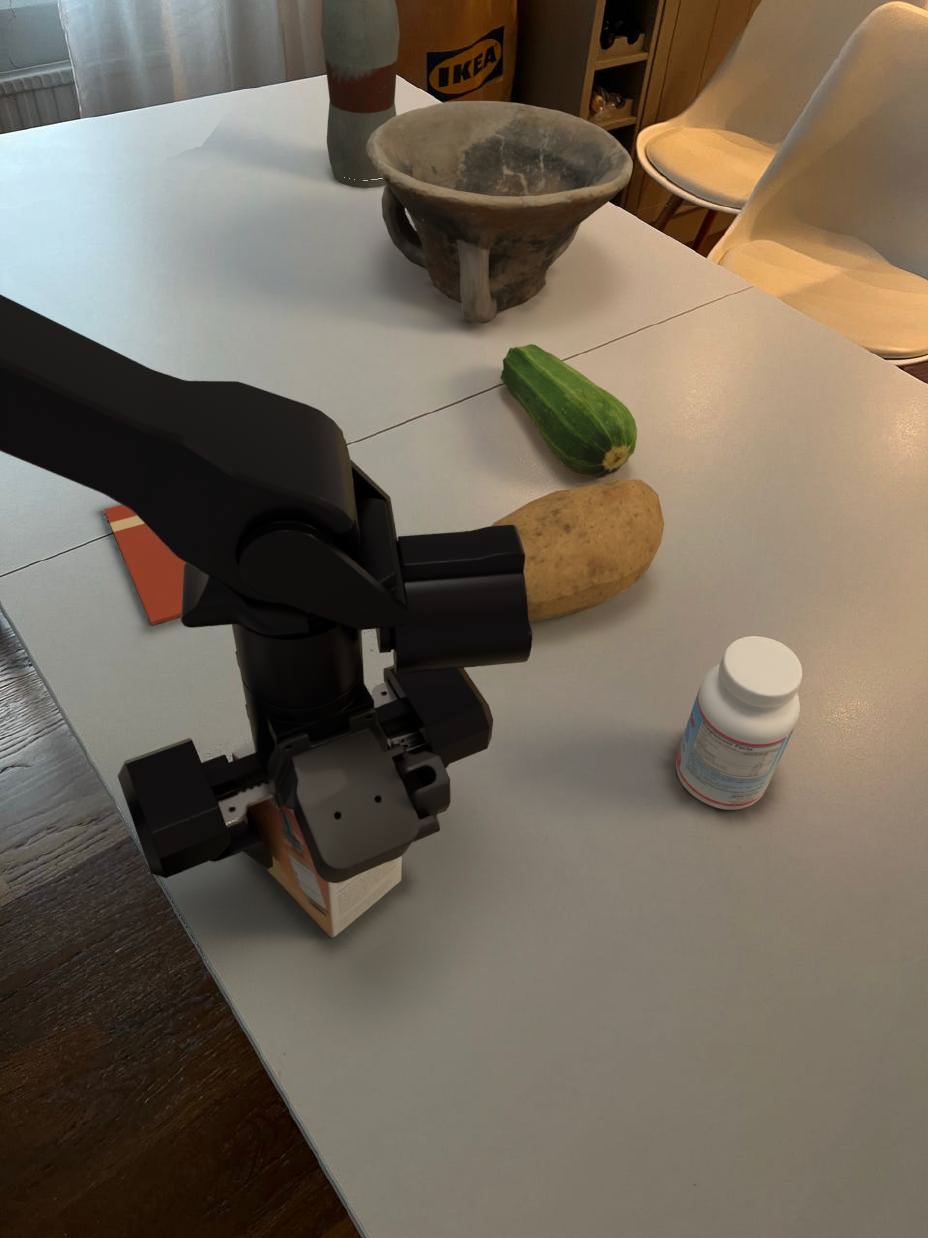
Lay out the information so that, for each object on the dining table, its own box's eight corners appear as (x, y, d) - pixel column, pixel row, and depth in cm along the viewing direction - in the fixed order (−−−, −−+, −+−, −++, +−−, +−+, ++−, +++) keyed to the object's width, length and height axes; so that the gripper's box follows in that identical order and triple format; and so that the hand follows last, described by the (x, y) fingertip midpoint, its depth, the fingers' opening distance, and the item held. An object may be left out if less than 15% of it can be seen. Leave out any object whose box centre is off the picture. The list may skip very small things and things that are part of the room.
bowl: (550, 214, 124) (565, 83, 113) (654, 320, 107) (683, 179, 96) (341, 242, 116) (335, 105, 105) (418, 361, 100) (420, 213, 89)
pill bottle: (707, 723, 70) (747, 610, 61) (783, 775, 67) (835, 664, 59) (655, 774, 66) (690, 662, 58) (733, 831, 64) (781, 722, 55)
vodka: (314, 169, 130) (296, -112, 108) (371, 154, 134) (365, -121, 112) (356, 195, 125) (347, -94, 103) (414, 178, 129) (416, -103, 108)
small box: (247, 853, 61) (226, 749, 53) (319, 800, 64) (308, 694, 56) (332, 943, 57) (323, 845, 50) (404, 882, 60) (406, 781, 53)
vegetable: (604, 413, 80) (502, 296, 93) (559, 486, 84) (466, 364, 96) (667, 432, 84) (561, 318, 97) (621, 500, 88) (525, 382, 101)
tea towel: (151, 625, 74) (150, 621, 73) (104, 512, 82) (103, 508, 82) (376, 556, 80) (376, 552, 79) (311, 457, 88) (311, 453, 88)
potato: (445, 583, 78) (449, 489, 71) (620, 537, 83) (639, 445, 76) (489, 661, 73) (498, 568, 66) (674, 608, 77) (700, 516, 70)
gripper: (151, 881, 39) (208, 1037, 50) (561, 716, 45) (530, 887, 57) (83, 682, 45) (147, 859, 57) (449, 563, 52) (441, 743, 63)
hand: (322, 838), depth 58 cm, fingers closed on small box, 6 cm apart
